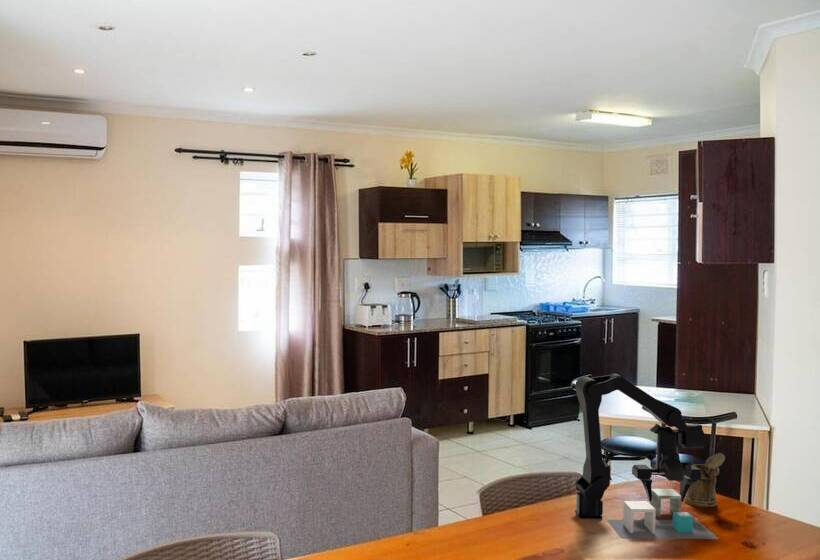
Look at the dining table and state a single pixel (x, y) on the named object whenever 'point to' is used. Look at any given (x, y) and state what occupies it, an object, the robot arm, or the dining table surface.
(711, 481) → the wooden mug
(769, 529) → the dining table surface
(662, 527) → the mat
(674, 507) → the cover
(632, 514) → the cover
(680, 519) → the cube
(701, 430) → the robot arm
